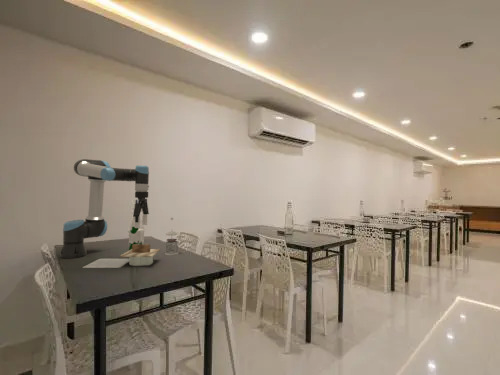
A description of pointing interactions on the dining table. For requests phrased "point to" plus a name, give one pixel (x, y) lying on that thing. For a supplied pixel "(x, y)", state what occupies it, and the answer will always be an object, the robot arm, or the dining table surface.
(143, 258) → the ceramic bowl
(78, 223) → the robot arm
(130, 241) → the milk carton
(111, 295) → the dining table surface
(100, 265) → the rubber mat
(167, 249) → the french press
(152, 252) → the birch board
